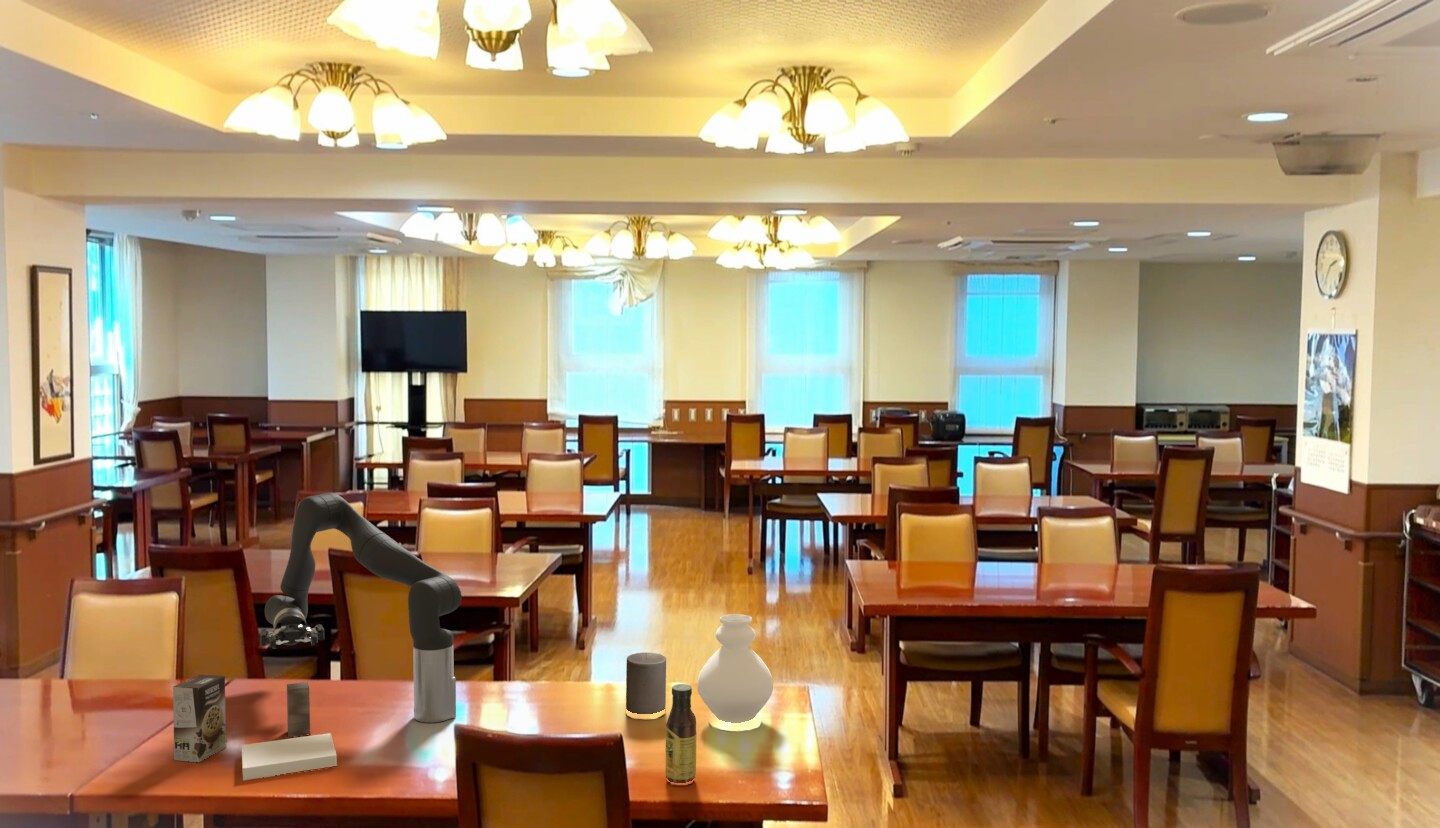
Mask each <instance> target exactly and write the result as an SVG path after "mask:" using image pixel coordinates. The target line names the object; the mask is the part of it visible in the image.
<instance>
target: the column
mask: <svg viewBox="0 0 1440 828" xmlns="http://www.w3.org/2000/svg"><path fill="white" fill-rule="evenodd" d="M286 706H287V707H286V709H287V710H286V711H287V712H286V714H287V717H286V719H287V736H288V738H289V737H293V738H295V737H294V736H300V737H302V736H301V735H307V734H310V735H311V712H310V711H311V709H310V707H311V706H310V684H309V681H303V682H302V681H301V682H295V683H294V682H293V683H287V684H286Z"/></svg>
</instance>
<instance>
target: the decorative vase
mask: <svg viewBox="0 0 1440 828" xmlns="http://www.w3.org/2000/svg"><path fill="white" fill-rule="evenodd" d="M752 619H753V617H752V616H751V615H747V614H741V613H729V614H724V615H723V614H722V615H721V616H720V617H719V622H720V623H721V624H722V625H720V626H719V627H718V628H717V630H716V632H715V638H716V640H717V642H718V643H719V644H720V645H721V646H720V647H719V648H718V649H717V651H715V652H714V653H713V654H712V655H711V656H710V657H709V658H708V660H707V661H706V662H705V663H704V665H703V667H702V668H701V670H700V672H699V674H698V677H697V678H698V679H697V684H696V685H697V692H698V695H699V696H700V698H701V700H702V701H703V703H704V704H705V705H706V707H707V708H708V709H709V710H710V711H711V713H712V715H715V716H716V717H717V718H718V719H719V720H722V721H725V722H731V723H741V722H745V721H749V720H751V719H753V718H754V717H755V716H756V715H757V716H758V713H759V712H760V711H761V710H762V709H763V707H765V705H766V704H767V702H768V701H769V699H770V698H771V696H772V694H773V691H774V679H773V676H772V673H771V671H770V670H769V668H768V666H767V665H766V663H765V662H764V660H763V659H762V658H761V657H760V656H759V655H758V654H757V653H756V652H755V651H754V649H752V648H751V647H750V645H752V643H753V642H755V639H756V638H757V634H756V631H755V629H754V628H753V627H752V626H750V624H751V623H752V622H753V620H752Z"/></svg>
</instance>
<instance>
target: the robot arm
mask: <svg viewBox="0 0 1440 828" xmlns="http://www.w3.org/2000/svg"><path fill="white" fill-rule="evenodd" d="M333 529H334V530H337V531H339V532H340V533H342V534H343V535H345V537H346V536H347V537H348V539H349V540H350V547H351V551H352V554H353V557H354V558H355V560H356V561H357V562H358V563H359V564H360V565H362V566H363V567H364V568H366V570H368V571H369V572H371V573H372V574H374V575H375V576H378V577H380V578H383V579H385V580H388V581H389V580H390V581H391V582H395V583H399V584H403V585H405V586H409V587H410V589H409V591H408V597H407V598H408V599H407V608H408V623H409V632H410V636H411V638H412V643H413V644H412V645H413V646H412V647H413V648H412V649H413V652H412V653H413V658H412V659H413V662H412V663H413V718H414V720H416V721H417V722H420V723H421V722H422V723H439V722H444V721H447V720H450V719H454V718H456V717H457V689H456V688H457V686H456V684H457V683H456V682H457V681H456V680H457V679H456V676H455V674H454V669H455V667H454V665H455V664H454V661H455V660H454V633H453V632H452V631H451V630H449V629H446V628H441V625H440V624H441V623H440V617H441V616H444V615H448V614H450V613H453V612H454V611H457V609H458V608H459V607H460V605H461V603H462V592H461V589H460V587H459V585H458V583H457V582H456V581H455V580H454V579H453V578H452V577H450V576H449V575H447V574H445V573H444V572H442V571H440V570H438V569H437V568H435V567H433V566H431V565H430V564H427V563H426V562H424V561H423V560H422V559H420V558H418V556H416V555H414V554H413V552H411V551H409V550H408V549H406V548H405V547H403V546H402V545H401V544H400V543H399V542H397V541H396V540H394V538H391V536H390V535H387V534H386V533H385V532H384V531H382V530H380V529H379V528H378V527H377V526H375V525H374V524H373V523H371V522H370V521H369V520H367V519H366V517H364V516H363V515H361V514H360V513H359V512H358V510H356V509H355V508H354V507H353V506H352V505H351V504H350V503H349V502H348V501H347V500H346V499H344V498H343V497H342V496H340V495H339V494H337V493H334V492H326V493H321V494H315V495H310V496H306V497H304V498H302V499H301V500H300V502H299V503H298V505H297V508H296V511H295V516H294V524H293V531H292V535H291V536H292V537H291V545H290V553H289V556H288V560H287V565H286V567H285V571H284V573H283V577H282V578H281V583H280V591H281V592H282V594H283V595H281V594H275V595H273V596H271V597H270V598H269V599H268V600H266V601H267V602H266V603H265V606H264V617H265V619H266V620H267V622H268V623H269V624H271V625H272V626H273V631H269V629H268V630H267V629H266V628H263V629H261V630H260V646H262V647H265V646H266V645H267V644H268V647H269V648H272V649H273V650H274V649H277V645H278V646H279V645H282V644H283V645H286V646H295V645H297V644H298V643H301V642H303V643H308V642H310V644H311V646H315V644H317V643H319V641H324V640H325V628H324V626H323V625H322V624H320V623H318V624H316V625H315V626H314V627H313V628H311V627H310V626H308V624H307V620H306V619H307V617H308V613H309V603H308V602H309V601H308V599H309V598H308V595H309V590H310V586H311V584H312V581H313V579H314V576H315V571H316V560H315V557H314V554H313V552H312V548H311V546H312V542H313V539H314V538H315V535H316V534H317V533H318V532H319V533H320V532H324V531H328V530H333ZM318 640H319V641H318Z"/></svg>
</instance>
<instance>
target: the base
mask: <svg viewBox="0 0 1440 828" xmlns="http://www.w3.org/2000/svg"><path fill="white" fill-rule="evenodd" d="M337 757H338V755H337V751H336V748H335V745H334V739H333V737H332V733H331V732H329V733H322V734H314V735H308V736H300V737H293V738H285V739H284V738H283V739H276V740H269V741H260V742H253V743H248V744H241V765H242V766H241V767H242V781H249V780H256V779H262V778H263V777H264V778H270V777H276V776H275V775H277V776H281V775H280V774H284V775H287V774H286V773H291V772H298V771H303V770H310V769H317V768H324V767H332V766H337V767H338V762H337V761H338V760H337V759H338V758H337ZM332 768H333V767H332ZM298 773H299V772H298ZM291 774H292V773H291Z"/></svg>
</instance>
